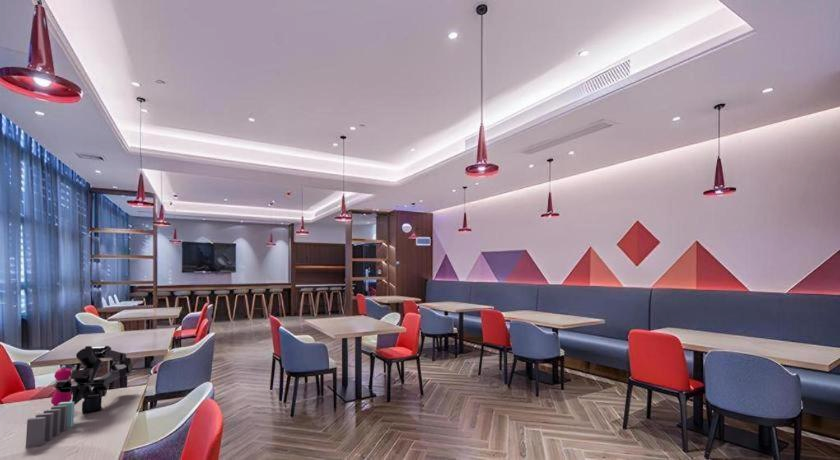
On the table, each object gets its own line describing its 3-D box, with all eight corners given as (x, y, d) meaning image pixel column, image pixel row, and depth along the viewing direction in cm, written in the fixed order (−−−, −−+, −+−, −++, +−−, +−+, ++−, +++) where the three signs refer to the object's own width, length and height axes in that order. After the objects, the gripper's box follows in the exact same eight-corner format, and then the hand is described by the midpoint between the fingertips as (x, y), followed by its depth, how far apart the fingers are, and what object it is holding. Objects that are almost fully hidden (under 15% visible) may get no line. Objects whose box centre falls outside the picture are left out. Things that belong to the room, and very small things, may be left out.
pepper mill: (74, 407, 189) (77, 364, 191) (56, 412, 182) (59, 367, 184) (65, 405, 192) (67, 362, 193) (46, 410, 185) (49, 366, 186)
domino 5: (59, 427, 166) (60, 402, 167) (73, 426, 167) (74, 401, 168) (56, 428, 165) (58, 403, 165) (70, 427, 166) (72, 402, 166)
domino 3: (44, 435, 158) (46, 409, 159) (59, 434, 159) (61, 408, 160) (41, 437, 156) (43, 411, 157) (56, 436, 157) (58, 410, 158)
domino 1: (28, 445, 150) (30, 417, 151) (44, 444, 151) (46, 416, 152) (25, 447, 148) (27, 419, 149) (41, 445, 149) (43, 418, 150)
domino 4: (52, 431, 162) (53, 406, 163) (66, 430, 163) (68, 405, 164) (49, 433, 161) (51, 407, 161) (63, 431, 162) (65, 406, 162)
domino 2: (37, 440, 154) (38, 413, 155) (52, 439, 155) (53, 412, 156) (34, 442, 152) (35, 415, 153) (49, 441, 153) (50, 414, 154)
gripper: (58, 362, 175) (38, 397, 164) (106, 360, 179) (90, 393, 168) (69, 375, 183) (51, 409, 171) (115, 373, 186) (100, 406, 175)
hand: (73, 404), depth 171 cm, fingers closed
